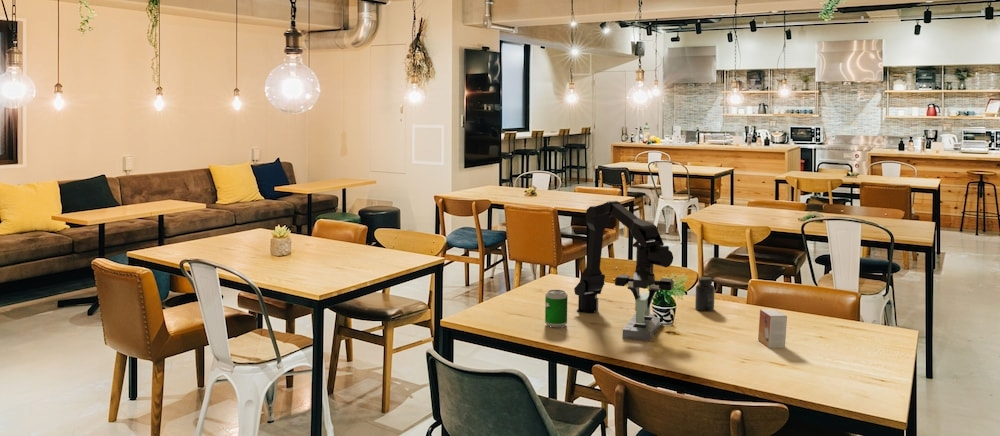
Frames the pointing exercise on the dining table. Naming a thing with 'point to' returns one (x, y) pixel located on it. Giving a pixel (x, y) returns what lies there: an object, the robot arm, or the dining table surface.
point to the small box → (772, 328)
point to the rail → (641, 328)
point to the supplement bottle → (705, 295)
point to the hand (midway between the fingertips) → (643, 307)
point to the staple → (642, 307)
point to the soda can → (556, 308)
